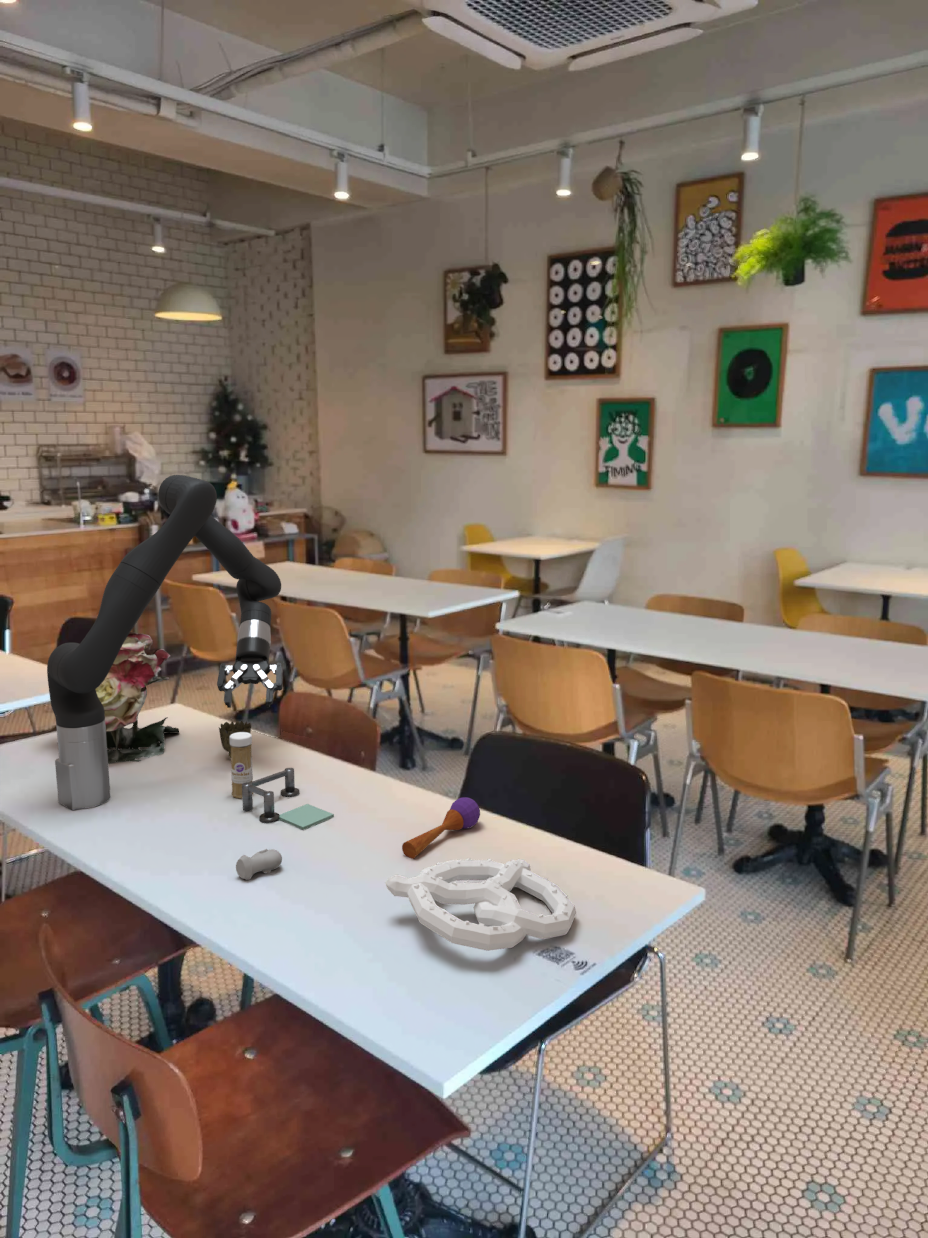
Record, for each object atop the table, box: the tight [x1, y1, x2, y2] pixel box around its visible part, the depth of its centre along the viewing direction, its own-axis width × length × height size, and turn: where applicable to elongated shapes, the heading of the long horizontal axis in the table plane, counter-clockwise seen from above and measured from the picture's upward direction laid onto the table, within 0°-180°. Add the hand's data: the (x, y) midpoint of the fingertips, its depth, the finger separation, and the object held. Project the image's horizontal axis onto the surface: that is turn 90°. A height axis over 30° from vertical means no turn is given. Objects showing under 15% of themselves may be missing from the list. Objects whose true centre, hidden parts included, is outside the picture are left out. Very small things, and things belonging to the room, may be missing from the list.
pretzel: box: [384, 857, 577, 952], centre depth 139 cm, size 28×24×6 cm
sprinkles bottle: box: [230, 732, 254, 799], centre depth 185 cm, size 5×5×14 cm
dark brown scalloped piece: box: [218, 720, 252, 759], centre depth 208 cm, size 8×7×8 cm
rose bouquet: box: [96, 631, 180, 765], centre depth 210 cm, size 26×29×30 cm
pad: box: [278, 803, 335, 831], centre depth 176 cm, size 8×8×1 cm
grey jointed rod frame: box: [241, 767, 301, 824], centre depth 181 cm, size 15×11×6 cm
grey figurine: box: [235, 848, 283, 881], centre depth 153 cm, size 4×8×5 cm
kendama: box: [401, 796, 481, 860], centre depth 167 cm, size 6×6×20 cm
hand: (248, 705), depth 195 cm, fingers open, 8 cm apart
